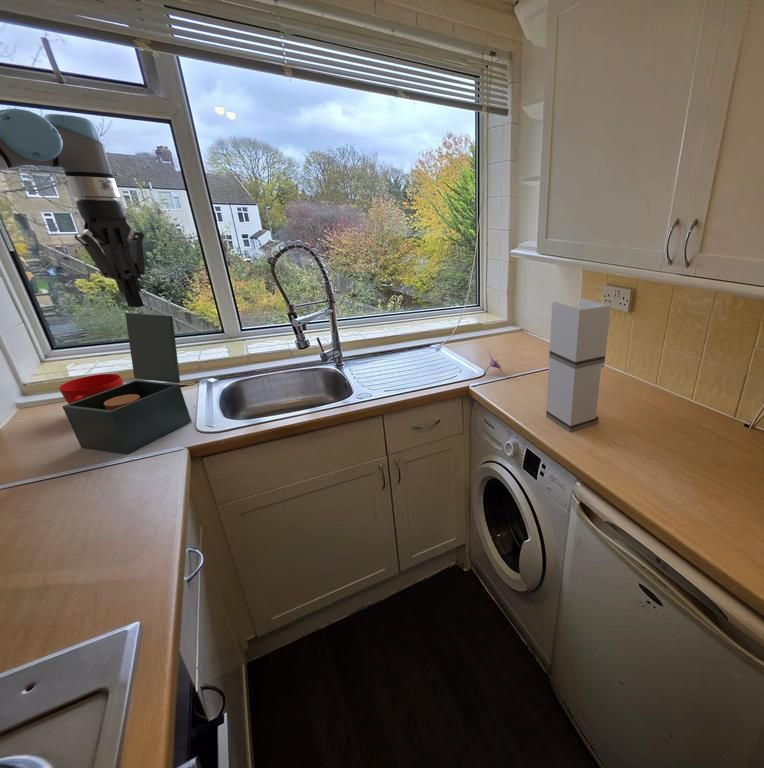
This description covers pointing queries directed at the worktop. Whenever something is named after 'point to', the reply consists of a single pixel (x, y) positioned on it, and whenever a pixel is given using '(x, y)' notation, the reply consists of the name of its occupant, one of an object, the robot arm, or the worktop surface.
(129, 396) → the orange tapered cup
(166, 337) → the bin lid
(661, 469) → the worktop surface
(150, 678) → the worktop surface
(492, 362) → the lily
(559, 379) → the white tall square block
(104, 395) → the bin
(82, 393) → the red bowl
